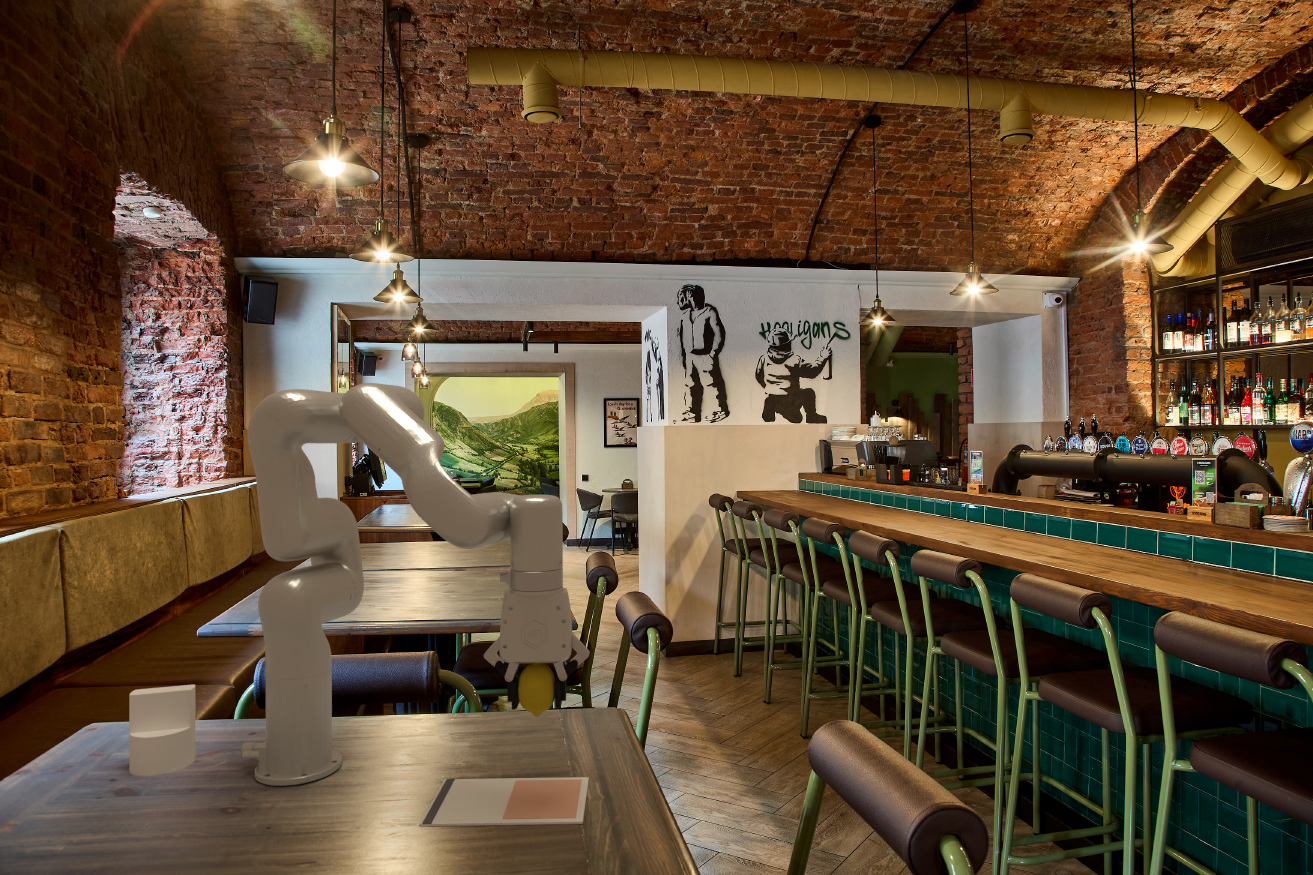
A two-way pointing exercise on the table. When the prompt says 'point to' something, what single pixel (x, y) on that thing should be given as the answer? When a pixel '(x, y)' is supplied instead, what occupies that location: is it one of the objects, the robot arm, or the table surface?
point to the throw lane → (508, 802)
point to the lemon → (536, 688)
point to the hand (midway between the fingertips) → (537, 704)
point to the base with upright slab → (161, 729)
